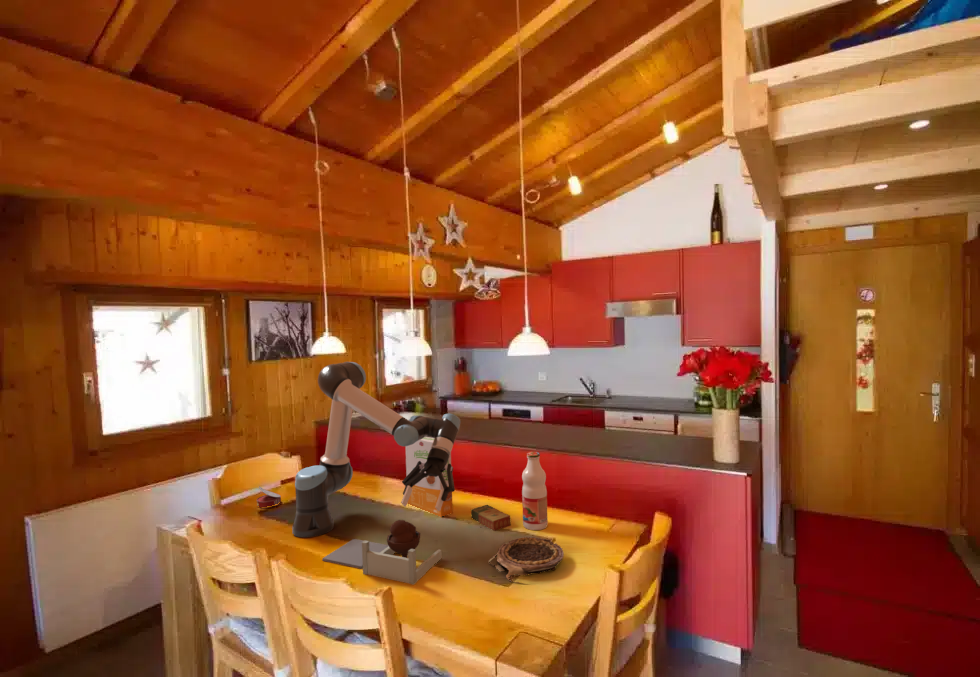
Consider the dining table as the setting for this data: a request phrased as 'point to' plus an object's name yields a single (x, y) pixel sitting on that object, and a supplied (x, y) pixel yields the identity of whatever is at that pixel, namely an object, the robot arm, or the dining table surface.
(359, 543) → the slate mat
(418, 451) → the cereal box
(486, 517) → the carton
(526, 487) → the fruit juice
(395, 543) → the ice cream bowl
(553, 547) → the pie
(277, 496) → the canned food
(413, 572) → the open crate
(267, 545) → the dining table surface
